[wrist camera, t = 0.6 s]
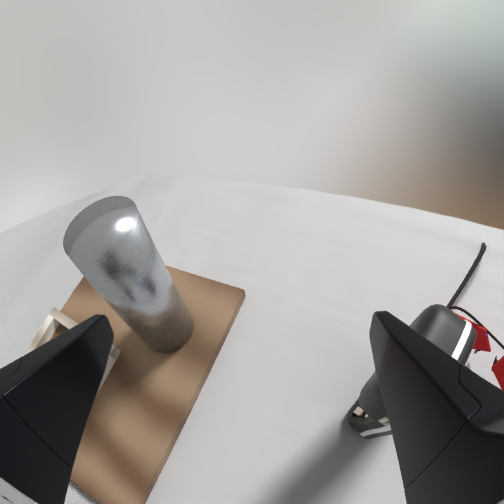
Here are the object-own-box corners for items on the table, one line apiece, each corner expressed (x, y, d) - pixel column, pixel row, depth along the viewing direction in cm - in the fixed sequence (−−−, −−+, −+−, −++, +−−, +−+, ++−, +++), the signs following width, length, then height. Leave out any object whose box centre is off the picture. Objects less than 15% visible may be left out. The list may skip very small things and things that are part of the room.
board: (135, 521, 14) (122, 525, 13) (13, 414, 20) (-2, 408, 18) (245, 296, 28) (242, 282, 26) (110, 252, 33) (102, 239, 31)
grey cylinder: (178, 361, 23) (100, 270, 13) (132, 339, 24) (50, 247, 14) (203, 313, 26) (153, 202, 16) (158, 296, 27) (98, 191, 17)
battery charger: (382, 354, 23) (438, 282, 14) (414, 378, 21) (486, 318, 12) (332, 416, 20) (373, 382, 11) (366, 443, 18) (432, 427, 9)
